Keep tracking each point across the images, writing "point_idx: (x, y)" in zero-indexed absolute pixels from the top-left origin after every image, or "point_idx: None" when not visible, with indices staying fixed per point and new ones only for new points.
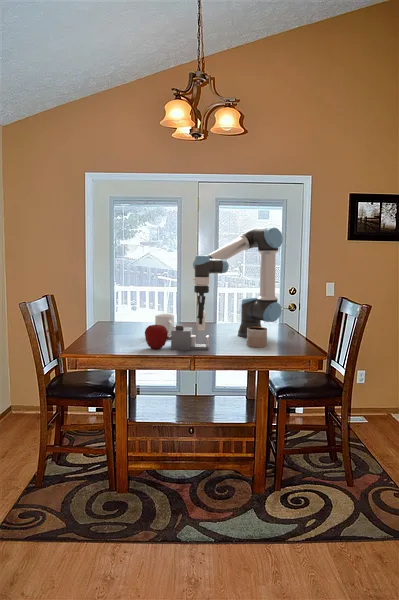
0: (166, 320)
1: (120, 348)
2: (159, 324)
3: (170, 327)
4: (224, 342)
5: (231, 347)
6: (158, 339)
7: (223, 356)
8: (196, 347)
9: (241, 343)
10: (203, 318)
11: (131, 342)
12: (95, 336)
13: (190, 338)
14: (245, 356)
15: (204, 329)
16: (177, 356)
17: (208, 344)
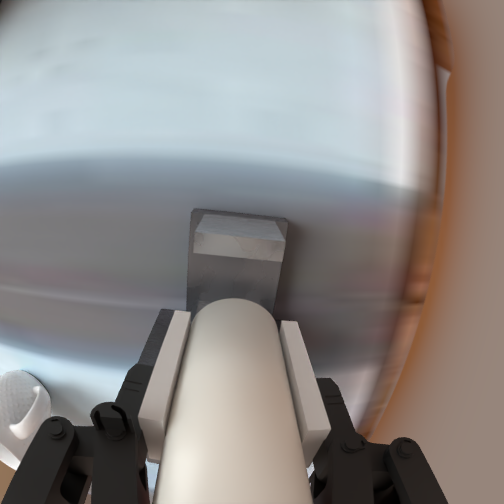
0: (24, 446)
1: None
2: None
3: (22, 407)
4: (57, 106)
5: (203, 55)
6: None
7: (440, 155)
8: (274, 295)
9: (92, 12)
10: (292, 421)
11: (153, 470)
12: None
13: None
14: (434, 49)
15: (259, 309)
16: (400, 360)
17: (255, 221)
